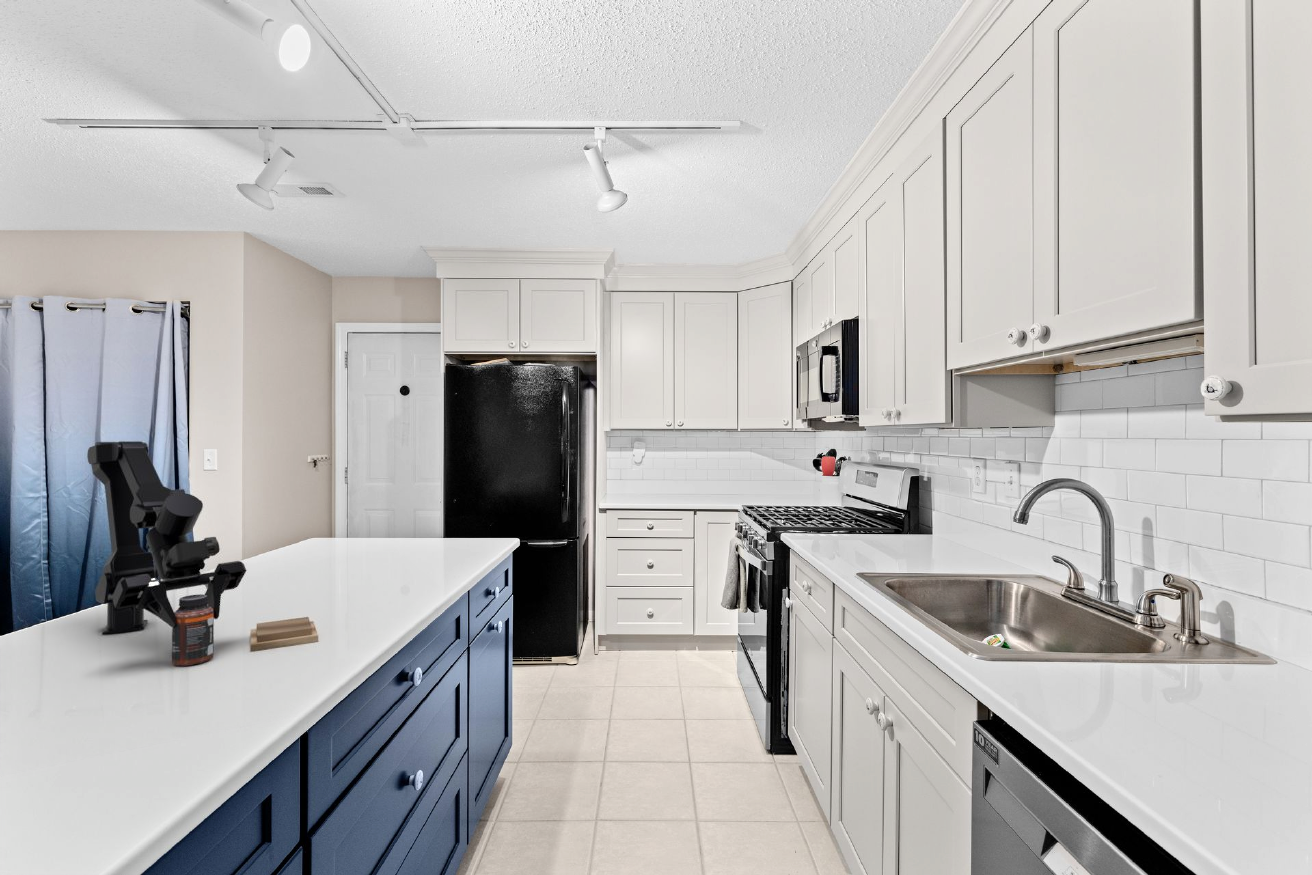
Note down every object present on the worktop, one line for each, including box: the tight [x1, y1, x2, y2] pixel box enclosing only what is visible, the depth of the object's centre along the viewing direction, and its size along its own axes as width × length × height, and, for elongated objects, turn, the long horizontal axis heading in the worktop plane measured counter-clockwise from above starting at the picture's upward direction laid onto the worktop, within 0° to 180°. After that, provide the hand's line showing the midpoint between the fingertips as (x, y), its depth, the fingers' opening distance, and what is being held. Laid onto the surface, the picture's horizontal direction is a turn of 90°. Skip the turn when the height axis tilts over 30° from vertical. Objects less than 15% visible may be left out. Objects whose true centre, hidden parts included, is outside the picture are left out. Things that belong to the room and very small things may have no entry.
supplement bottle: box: [171, 593, 215, 667], centre depth 110 cm, size 6×6×11 cm
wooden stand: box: [250, 616, 319, 653], centre depth 123 cm, size 11×11×2 cm
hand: (196, 621), depth 109 cm, fingers closed on supplement bottle, 6 cm apart
